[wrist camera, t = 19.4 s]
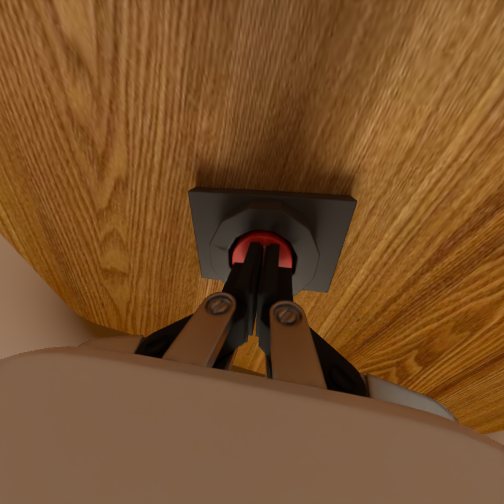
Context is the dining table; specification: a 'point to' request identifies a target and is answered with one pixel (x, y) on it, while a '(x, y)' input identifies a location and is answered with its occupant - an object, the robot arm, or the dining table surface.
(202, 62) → the dining table surface
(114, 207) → the dining table surface
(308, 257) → the pad
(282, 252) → the button
